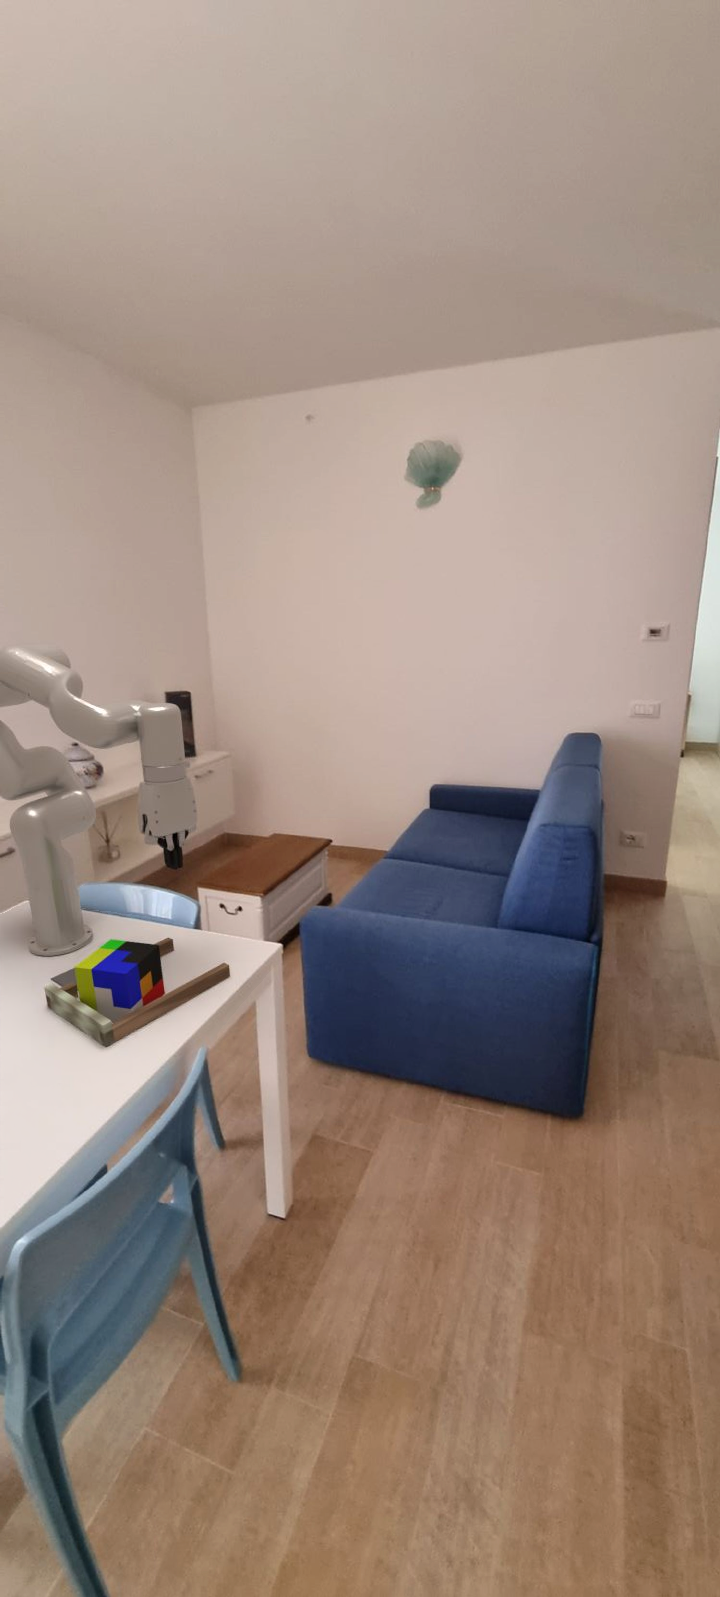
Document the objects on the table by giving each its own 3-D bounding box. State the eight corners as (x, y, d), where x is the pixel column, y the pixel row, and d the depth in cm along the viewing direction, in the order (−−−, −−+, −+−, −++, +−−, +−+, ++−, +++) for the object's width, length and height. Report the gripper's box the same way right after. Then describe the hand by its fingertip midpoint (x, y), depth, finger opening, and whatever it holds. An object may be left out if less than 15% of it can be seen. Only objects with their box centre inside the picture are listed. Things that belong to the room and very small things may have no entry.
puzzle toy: (133, 1026, 109) (125, 973, 106) (82, 1018, 112) (74, 967, 109) (164, 993, 118) (158, 944, 116) (117, 987, 121) (110, 939, 118)
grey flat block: (51, 979, 124) (51, 978, 124) (80, 966, 129) (80, 965, 128) (72, 993, 119) (72, 991, 119) (102, 978, 124) (102, 977, 124)
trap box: (47, 1006, 115) (44, 987, 114) (169, 948, 135) (167, 930, 134) (106, 1047, 104) (102, 1025, 103) (230, 976, 123) (228, 957, 122)
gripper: (186, 762, 124) (194, 851, 129) (115, 778, 113) (128, 875, 118) (211, 767, 120) (218, 859, 125) (140, 784, 109) (152, 884, 114)
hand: (174, 866), depth 122 cm, fingers closed
